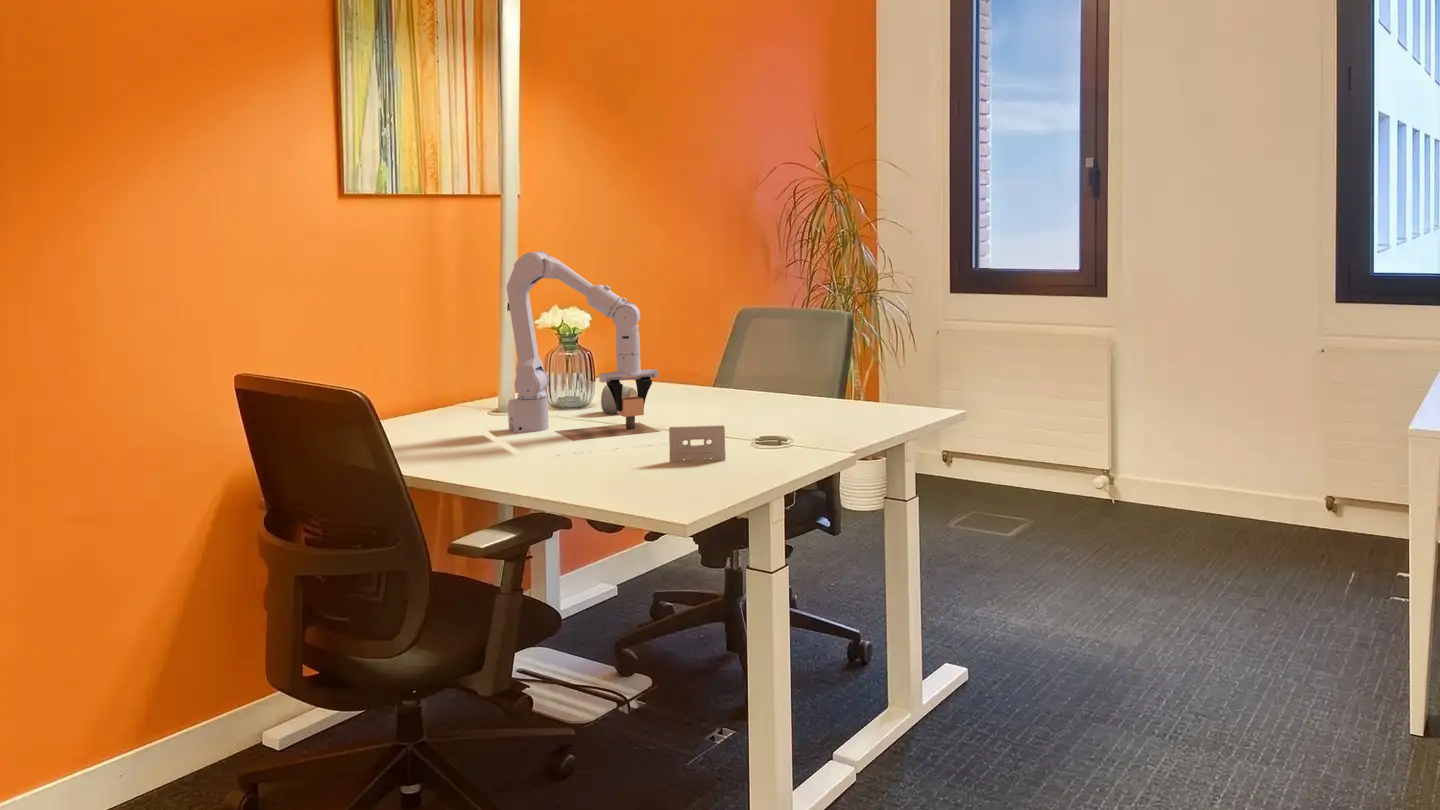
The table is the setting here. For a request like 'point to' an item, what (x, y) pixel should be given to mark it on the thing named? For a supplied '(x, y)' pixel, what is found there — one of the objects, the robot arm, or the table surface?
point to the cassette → (697, 451)
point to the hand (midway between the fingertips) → (630, 409)
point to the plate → (608, 430)
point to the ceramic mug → (608, 399)
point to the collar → (632, 406)
